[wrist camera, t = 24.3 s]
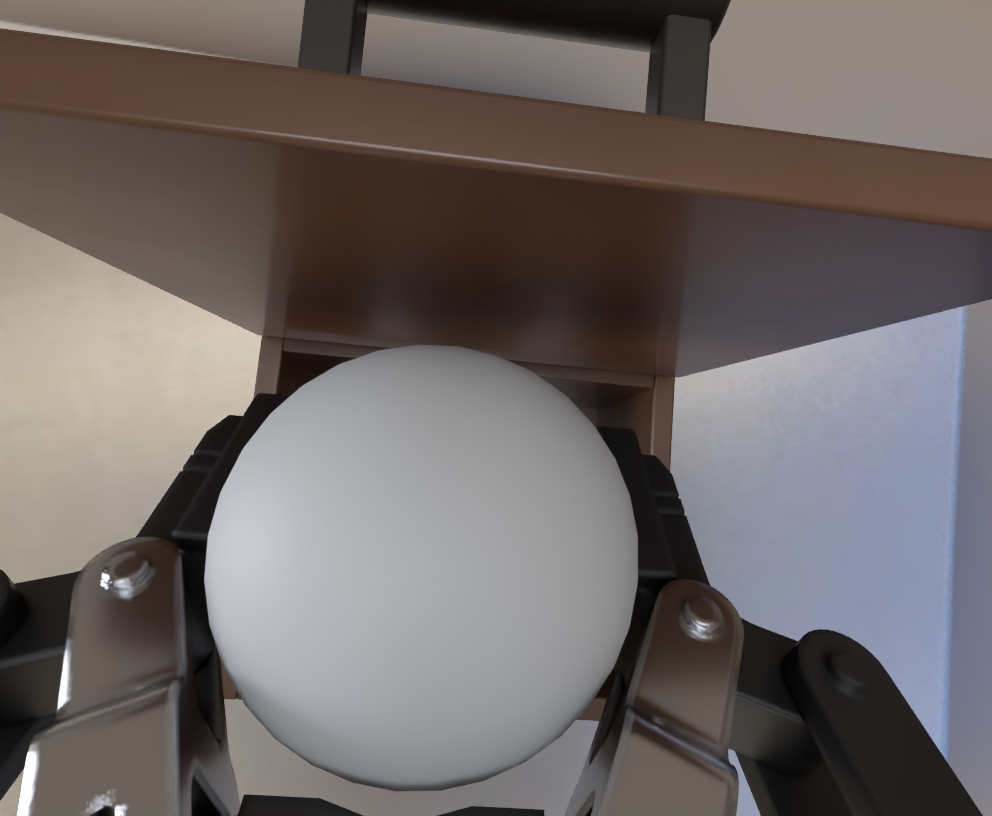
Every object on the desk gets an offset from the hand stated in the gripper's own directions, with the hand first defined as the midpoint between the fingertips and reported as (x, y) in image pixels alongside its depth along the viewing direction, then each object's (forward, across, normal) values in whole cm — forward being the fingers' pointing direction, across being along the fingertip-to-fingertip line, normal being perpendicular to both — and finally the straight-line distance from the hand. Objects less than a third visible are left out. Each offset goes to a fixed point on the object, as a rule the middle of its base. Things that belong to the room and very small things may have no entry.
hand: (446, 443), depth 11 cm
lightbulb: (+2, 0, +5) cm, 5 cm away
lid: (+2, 0, -2) cm, 3 cm away
